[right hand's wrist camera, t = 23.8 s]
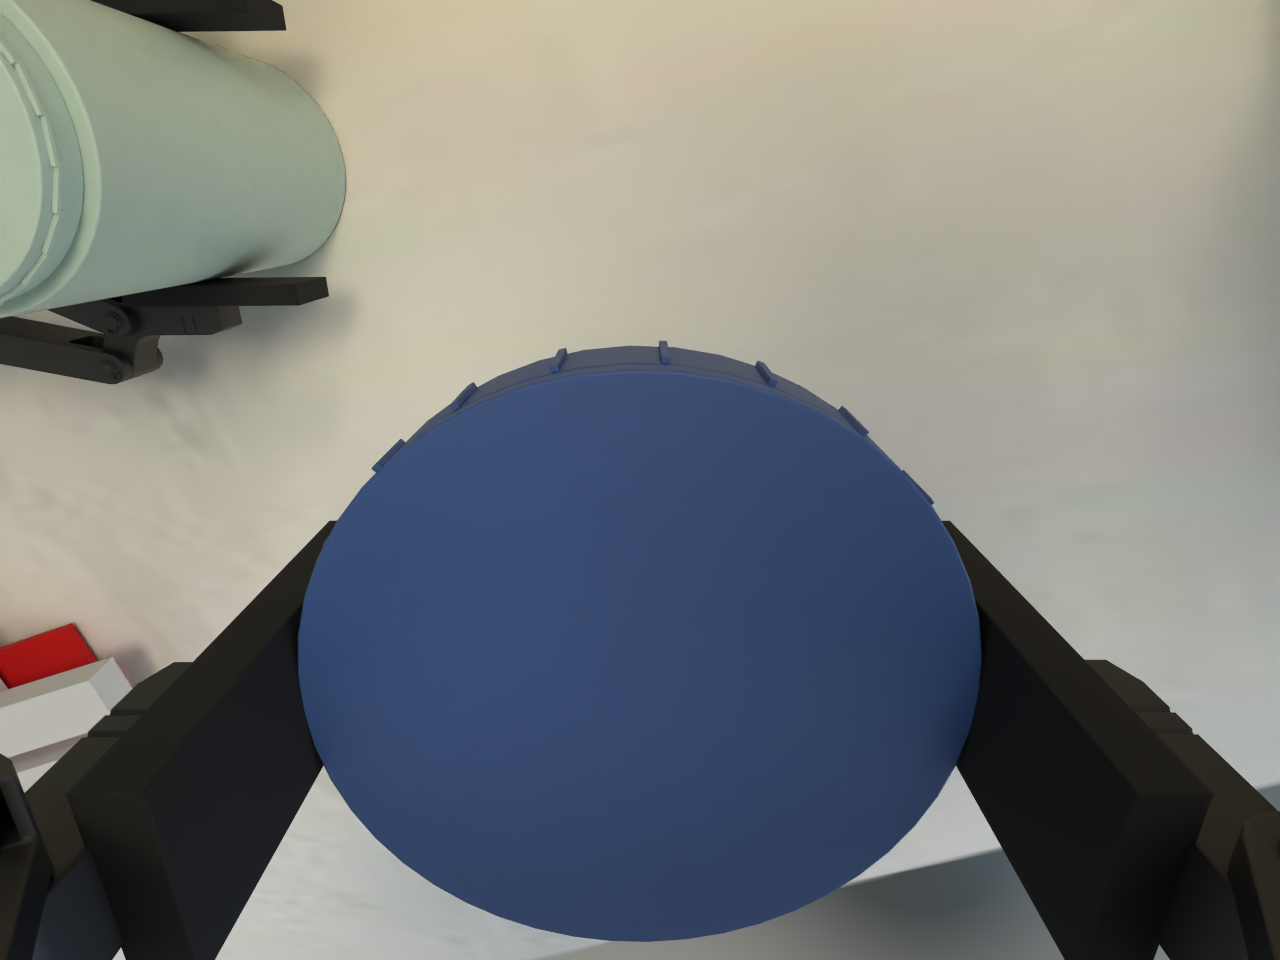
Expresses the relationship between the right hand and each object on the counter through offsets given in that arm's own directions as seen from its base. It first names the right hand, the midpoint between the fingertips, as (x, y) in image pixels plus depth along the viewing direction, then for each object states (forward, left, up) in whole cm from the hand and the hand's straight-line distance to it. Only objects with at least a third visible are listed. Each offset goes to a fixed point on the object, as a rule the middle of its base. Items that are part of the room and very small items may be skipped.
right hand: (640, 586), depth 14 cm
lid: (0, 0, +3) cm, 3 cm away
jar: (+3, -19, -23) cm, 30 cm away
